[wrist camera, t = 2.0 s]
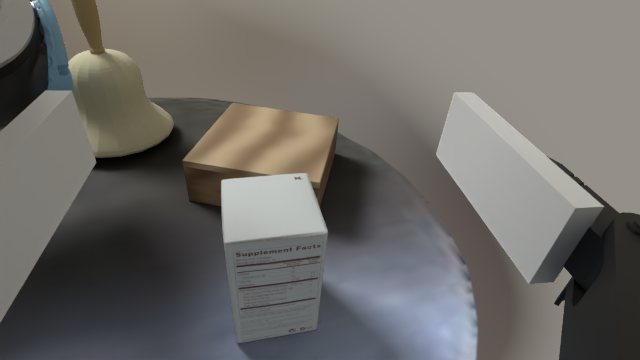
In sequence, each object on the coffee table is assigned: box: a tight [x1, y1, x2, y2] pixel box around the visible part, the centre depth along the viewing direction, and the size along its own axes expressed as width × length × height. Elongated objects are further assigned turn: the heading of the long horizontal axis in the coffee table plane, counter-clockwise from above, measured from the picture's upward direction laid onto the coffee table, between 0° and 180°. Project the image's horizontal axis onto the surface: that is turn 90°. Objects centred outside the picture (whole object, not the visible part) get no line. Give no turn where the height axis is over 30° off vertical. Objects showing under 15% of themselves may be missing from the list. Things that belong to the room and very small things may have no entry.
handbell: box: [68, 0, 174, 158], centre depth 49 cm, size 15×15×25 cm
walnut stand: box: [182, 103, 339, 208], centre depth 50 cm, size 16×16×6 cm
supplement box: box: [221, 173, 328, 343], centre depth 32 cm, size 7×7×13 cm
